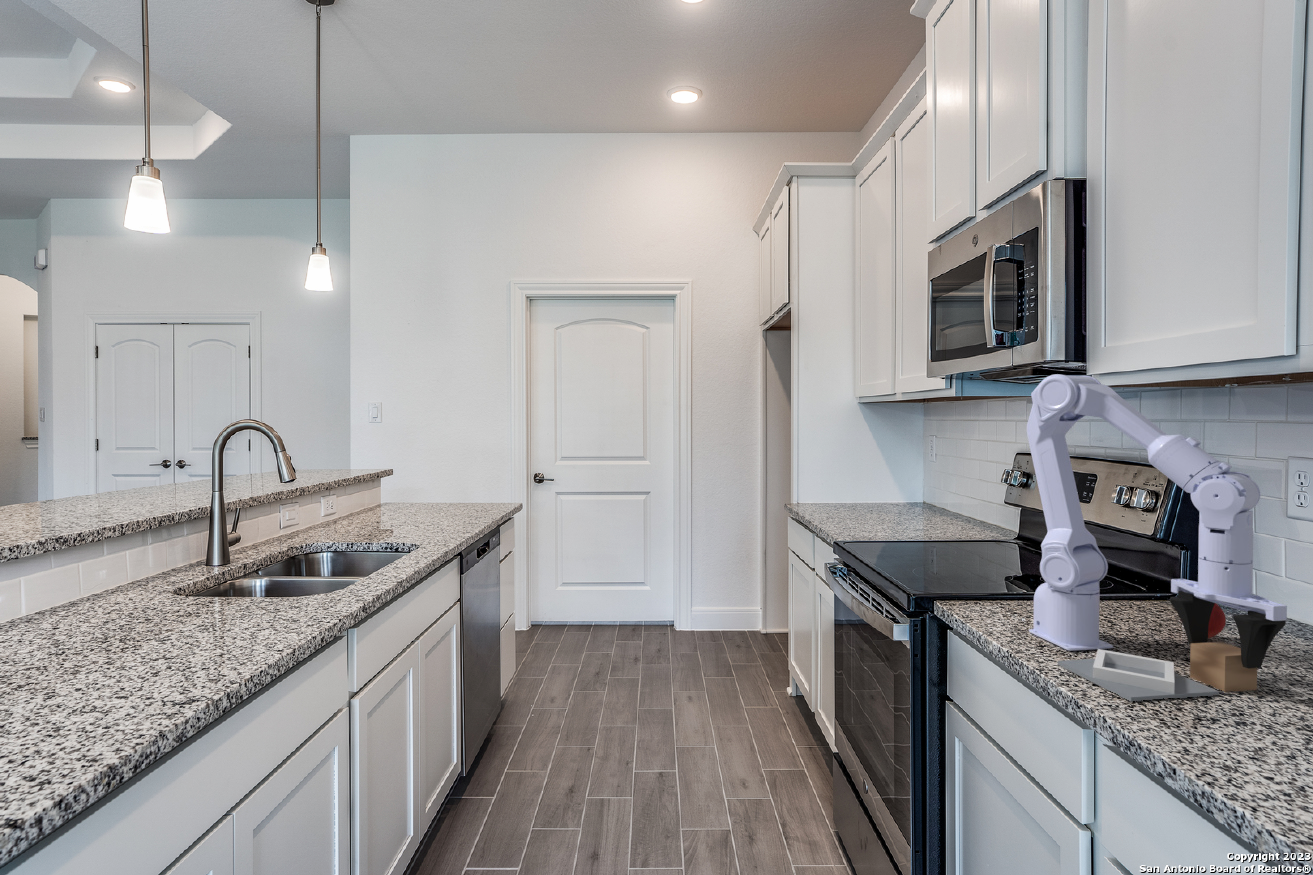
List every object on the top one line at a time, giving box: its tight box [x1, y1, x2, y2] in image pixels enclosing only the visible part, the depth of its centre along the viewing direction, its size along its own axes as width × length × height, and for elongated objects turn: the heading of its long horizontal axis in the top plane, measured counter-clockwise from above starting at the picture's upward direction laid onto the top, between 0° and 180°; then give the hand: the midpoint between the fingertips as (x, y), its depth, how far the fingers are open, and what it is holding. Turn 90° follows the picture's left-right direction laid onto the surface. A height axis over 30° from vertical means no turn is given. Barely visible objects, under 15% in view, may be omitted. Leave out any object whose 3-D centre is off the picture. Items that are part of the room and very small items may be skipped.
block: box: [1189, 641, 1258, 693], centre depth 91 cm, size 5×5×5 cm
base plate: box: [1057, 649, 1220, 703], centre depth 93 cm, size 13×13×2 cm
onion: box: [1180, 603, 1227, 639], centre depth 109 cm, size 6×6×8 cm
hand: (1223, 656), depth 91 cm, fingers open, 7 cm apart
